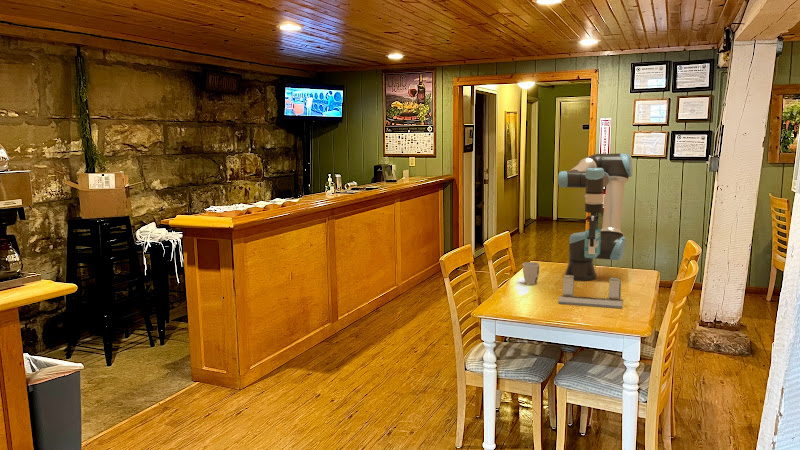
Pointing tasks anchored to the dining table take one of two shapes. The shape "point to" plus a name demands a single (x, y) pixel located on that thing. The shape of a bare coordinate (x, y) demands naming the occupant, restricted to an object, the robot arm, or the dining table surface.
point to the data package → (597, 243)
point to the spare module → (619, 290)
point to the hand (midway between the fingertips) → (592, 251)
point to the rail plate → (586, 301)
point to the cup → (531, 272)
